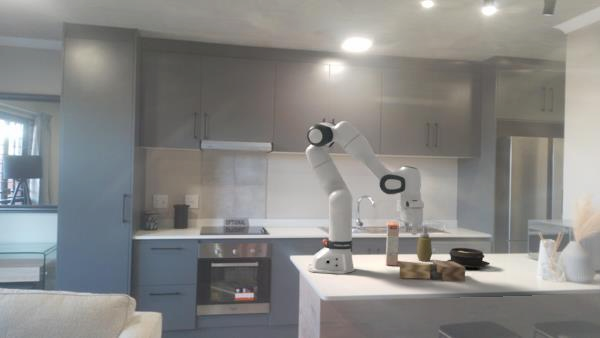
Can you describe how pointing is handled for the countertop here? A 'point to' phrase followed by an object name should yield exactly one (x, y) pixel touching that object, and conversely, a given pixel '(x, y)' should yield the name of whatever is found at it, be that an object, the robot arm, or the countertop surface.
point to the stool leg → (416, 270)
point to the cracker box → (392, 243)
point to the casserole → (468, 257)
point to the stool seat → (448, 271)
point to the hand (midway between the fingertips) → (410, 233)
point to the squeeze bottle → (424, 246)
